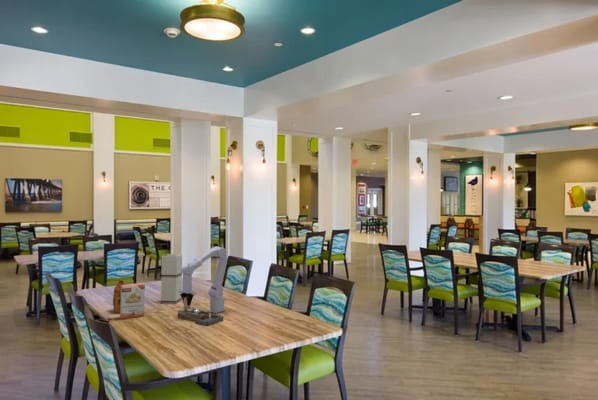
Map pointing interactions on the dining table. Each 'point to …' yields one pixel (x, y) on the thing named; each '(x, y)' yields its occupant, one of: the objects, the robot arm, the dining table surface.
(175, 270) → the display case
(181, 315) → the slot board
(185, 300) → the brown block with knob
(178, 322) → the dining table surface
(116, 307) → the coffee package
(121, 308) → the cracker box
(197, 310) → the chip
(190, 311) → the chip
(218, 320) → the tray
